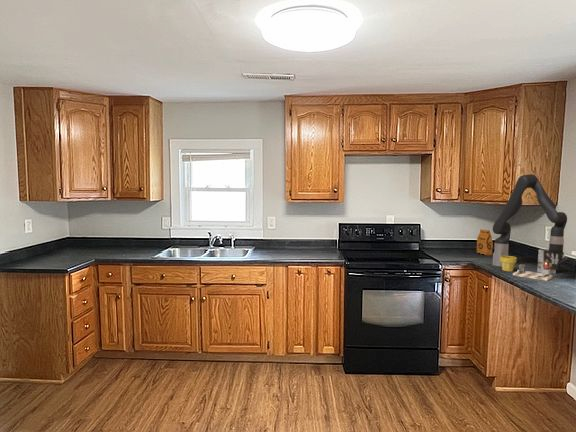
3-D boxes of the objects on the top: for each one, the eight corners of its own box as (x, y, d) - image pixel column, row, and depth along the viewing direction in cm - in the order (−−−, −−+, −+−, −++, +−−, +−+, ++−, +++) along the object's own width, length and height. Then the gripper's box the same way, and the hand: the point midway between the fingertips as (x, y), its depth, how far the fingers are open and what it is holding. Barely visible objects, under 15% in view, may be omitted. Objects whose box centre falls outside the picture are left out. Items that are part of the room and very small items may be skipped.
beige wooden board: (512, 275, 262) (513, 265, 262) (519, 272, 270) (519, 263, 270) (547, 280, 247) (547, 270, 247) (552, 278, 255) (553, 268, 255)
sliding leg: (539, 276, 252) (540, 262, 252) (543, 274, 257) (544, 261, 257) (546, 277, 250) (547, 263, 249) (549, 275, 255) (550, 261, 254)
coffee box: (543, 273, 268) (544, 250, 267) (536, 271, 275) (538, 249, 274) (556, 273, 269) (557, 250, 267) (549, 271, 275) (550, 249, 274)
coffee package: (484, 255, 337) (485, 230, 336) (474, 253, 349) (475, 229, 348) (494, 255, 339) (495, 230, 337) (484, 253, 351) (485, 228, 350)
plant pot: (516, 272, 270) (517, 258, 270) (499, 271, 275) (500, 257, 275) (515, 270, 279) (516, 256, 279) (499, 268, 284) (500, 255, 284)
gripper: (542, 242, 252) (541, 268, 254) (567, 244, 243) (565, 272, 244) (546, 241, 257) (544, 267, 259) (570, 243, 247) (568, 270, 249)
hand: (554, 269), depth 251 cm, fingers closed
